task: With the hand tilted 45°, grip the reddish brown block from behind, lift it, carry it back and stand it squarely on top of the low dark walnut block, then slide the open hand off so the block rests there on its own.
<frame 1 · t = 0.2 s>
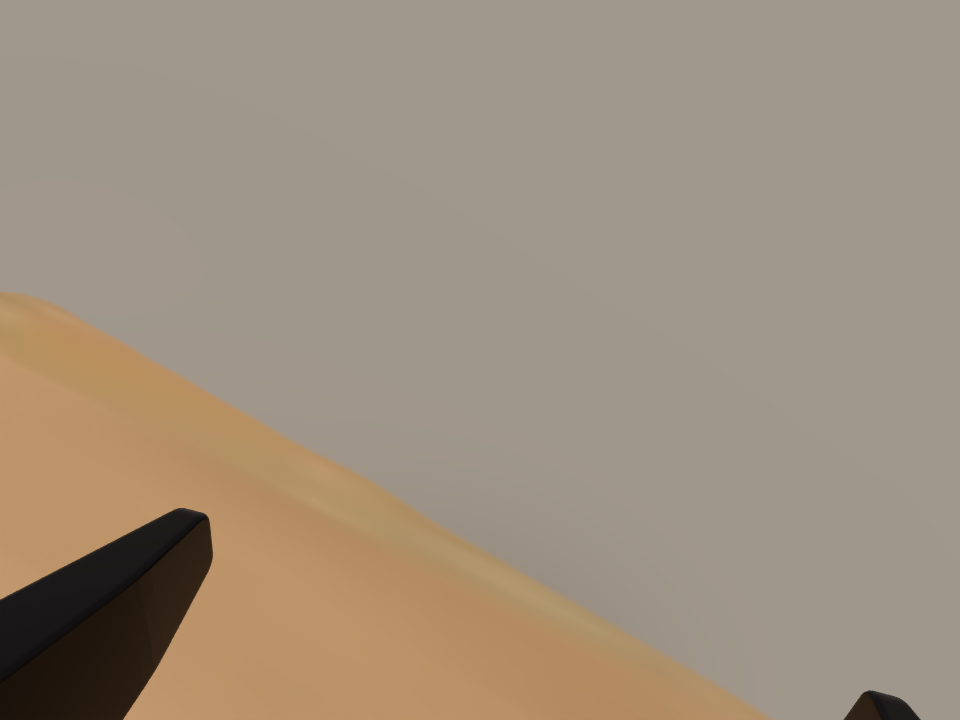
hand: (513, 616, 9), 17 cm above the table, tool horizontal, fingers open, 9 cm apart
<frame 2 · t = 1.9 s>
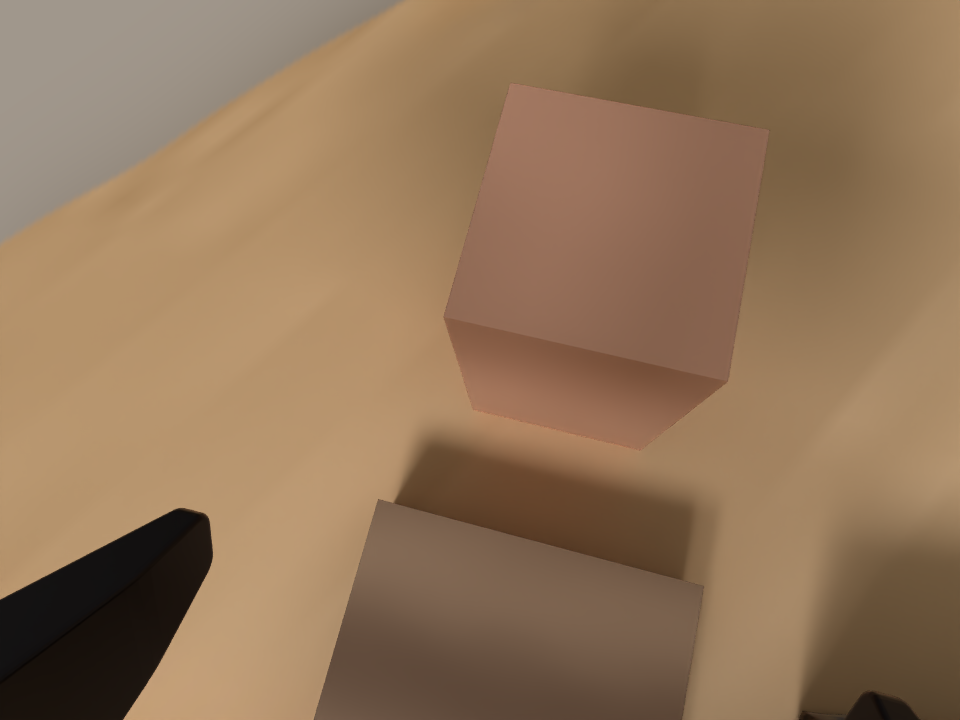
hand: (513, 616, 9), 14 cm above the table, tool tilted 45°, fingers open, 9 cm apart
walnut block: (498, 696, 22), on the table
reddish brown block: (573, 350, 24), on the table
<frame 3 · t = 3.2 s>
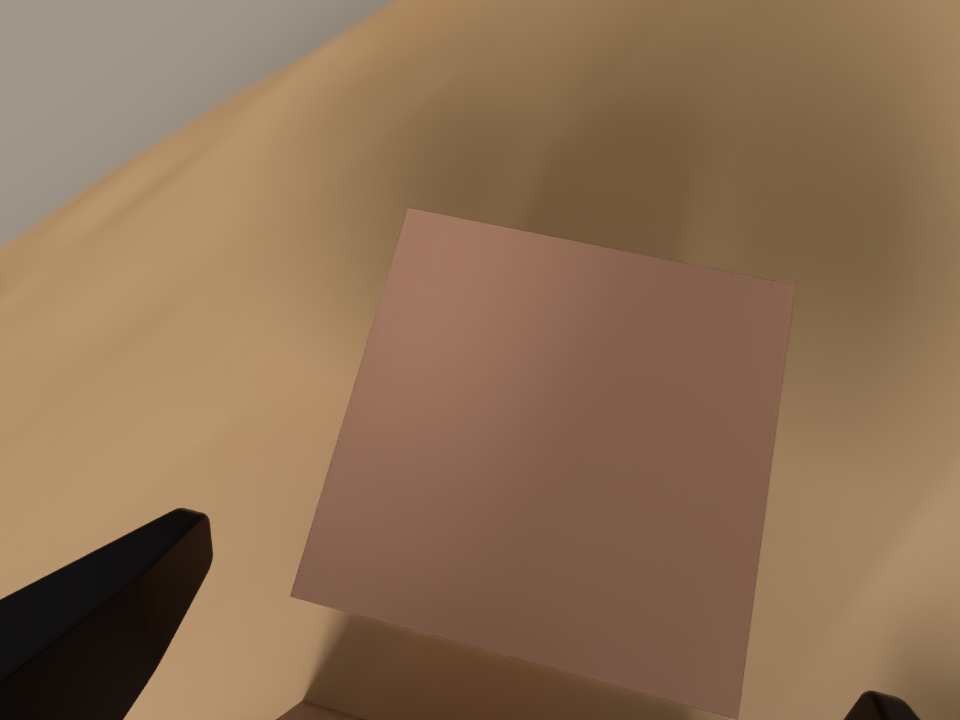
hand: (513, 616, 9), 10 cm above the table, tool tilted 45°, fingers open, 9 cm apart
reddish brown block: (534, 491, 19), on the table
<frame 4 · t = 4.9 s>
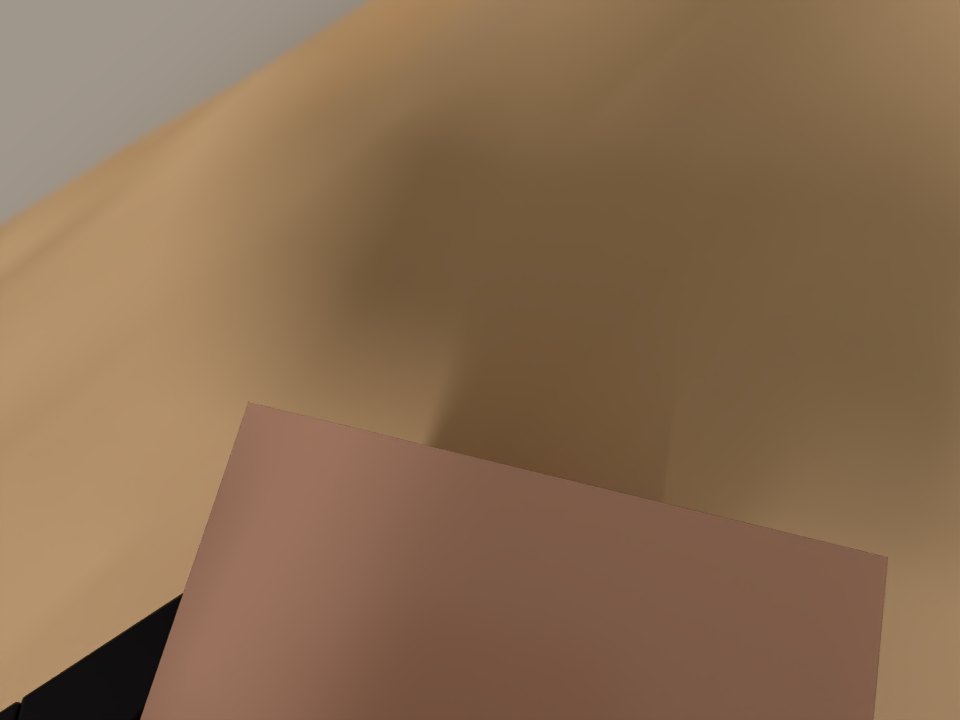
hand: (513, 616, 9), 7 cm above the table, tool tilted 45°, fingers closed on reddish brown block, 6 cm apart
reddish brown block: (501, 649, 15), on the table, touching gripper
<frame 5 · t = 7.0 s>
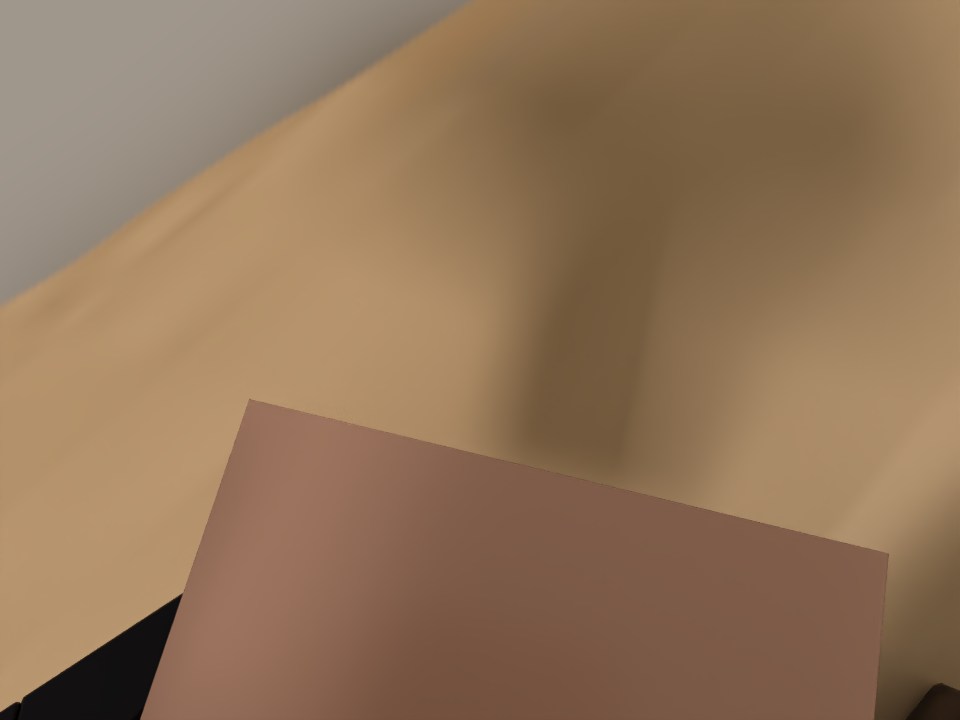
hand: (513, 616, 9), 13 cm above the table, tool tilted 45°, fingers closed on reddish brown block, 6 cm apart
reddish brown block: (501, 647, 15), point 6 cm above the table, touching gripper
when the fingers open (10 cm above the table, at t = 9.3 s): reddish brown block drops 1 cm, resting on walnut block.
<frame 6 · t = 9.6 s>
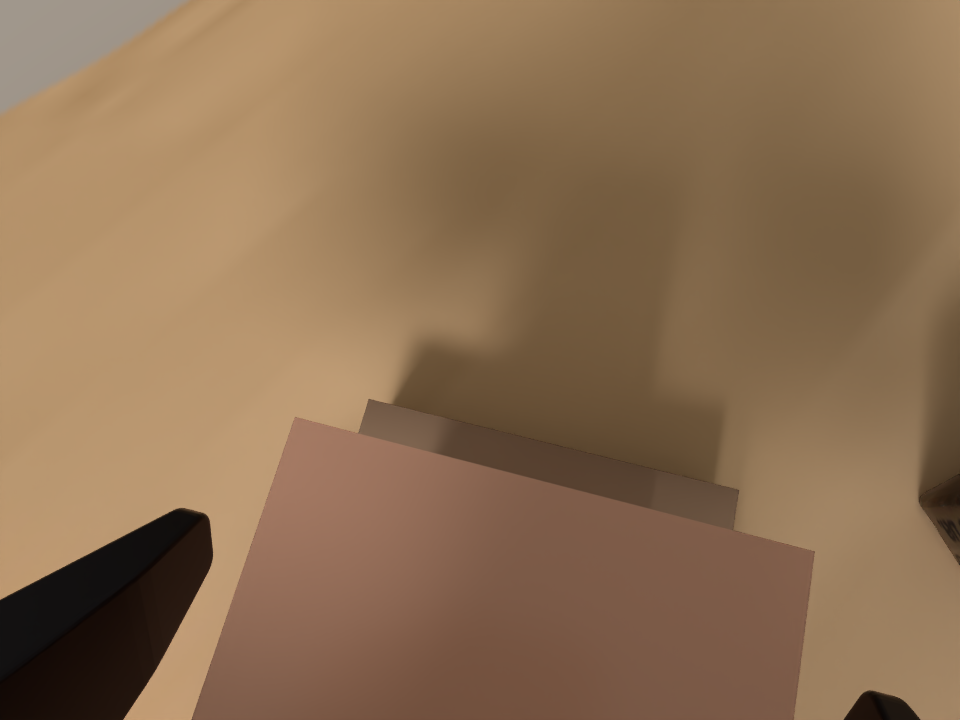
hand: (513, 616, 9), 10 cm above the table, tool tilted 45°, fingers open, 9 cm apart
walnut block: (504, 624, 19), on the table, touching reddish brown block
reddish brown block: (499, 642, 16), point 2 cm above the table, touching walnut block
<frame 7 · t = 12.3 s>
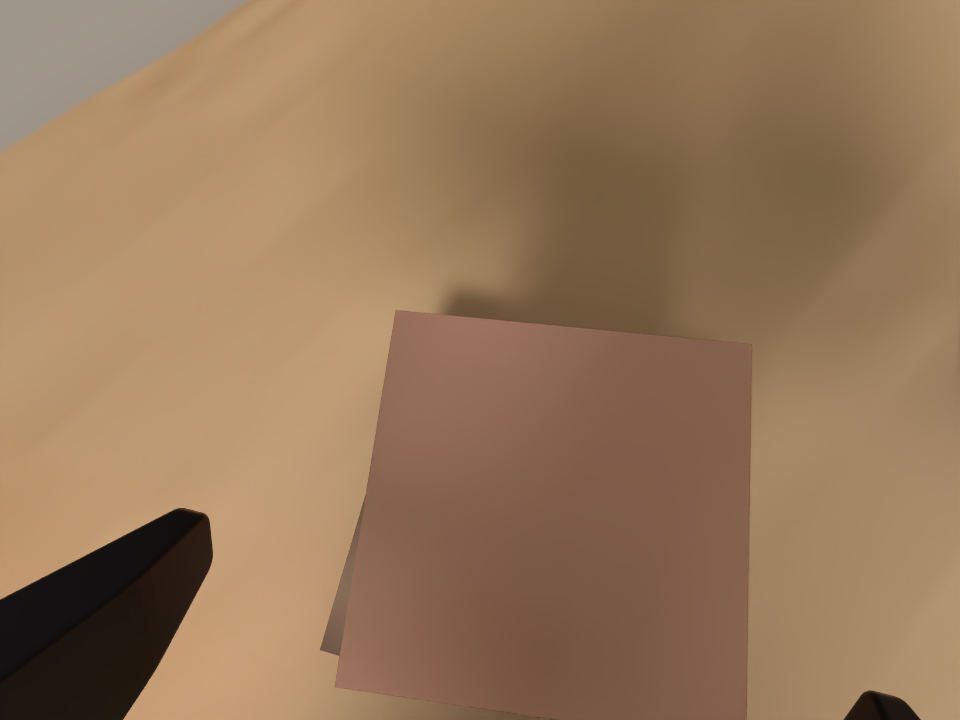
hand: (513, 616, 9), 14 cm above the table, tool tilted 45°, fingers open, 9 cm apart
walnut block: (525, 525, 23), on the table, touching reddish brown block
reddish brown block: (537, 524, 20), point 2 cm above the table, touching walnut block
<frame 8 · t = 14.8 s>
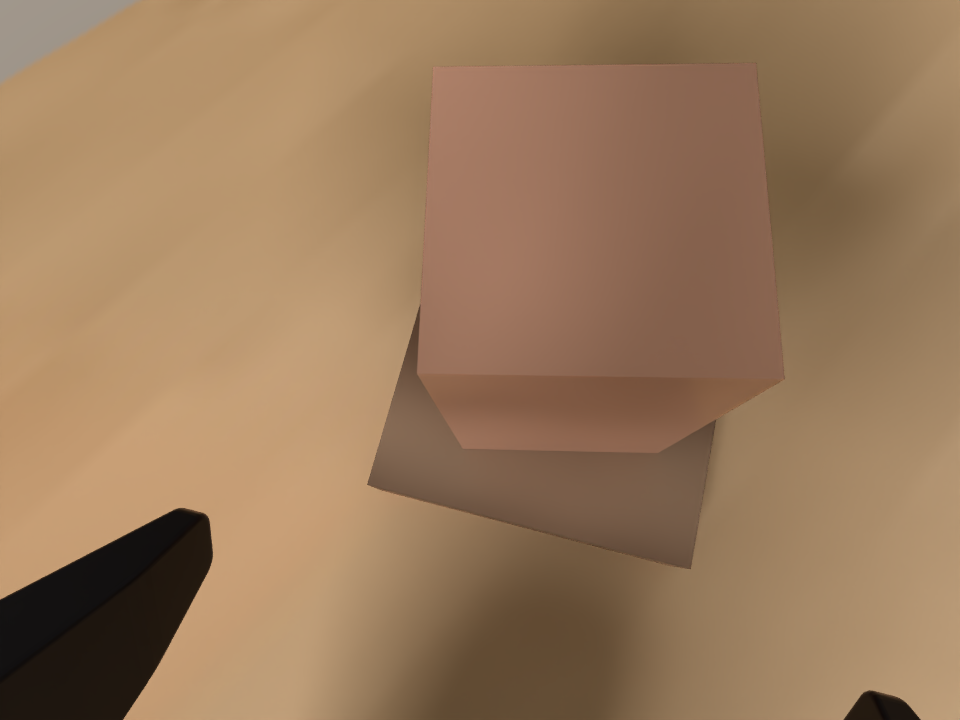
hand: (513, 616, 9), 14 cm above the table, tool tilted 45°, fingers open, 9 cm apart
walnut block: (555, 390, 24), on the table, touching reddish brown block
reddish brown block: (559, 357, 21), point 3 cm above the table, touching walnut block
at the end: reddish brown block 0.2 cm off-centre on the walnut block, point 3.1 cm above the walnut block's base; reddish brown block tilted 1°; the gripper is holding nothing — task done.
